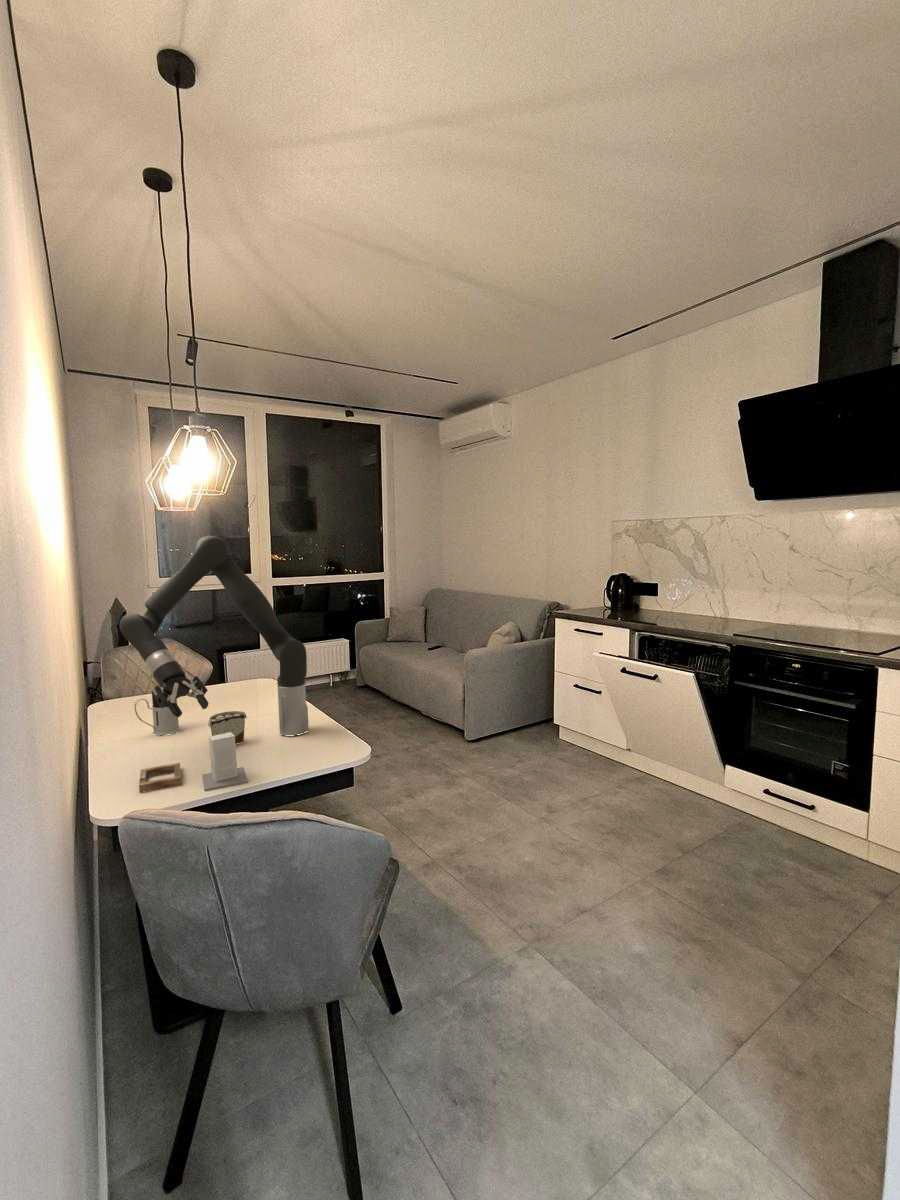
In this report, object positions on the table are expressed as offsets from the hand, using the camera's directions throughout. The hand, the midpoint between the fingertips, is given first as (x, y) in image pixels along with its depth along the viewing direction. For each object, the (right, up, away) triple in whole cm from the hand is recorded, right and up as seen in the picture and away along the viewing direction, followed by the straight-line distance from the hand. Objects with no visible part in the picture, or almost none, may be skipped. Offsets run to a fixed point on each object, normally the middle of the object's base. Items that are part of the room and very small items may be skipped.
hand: (193, 711), depth 158 cm
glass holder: (-28, -15, +35) cm, 48 cm away
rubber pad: (+10, -18, -3) cm, 21 cm away
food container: (-1, -16, +25) cm, 29 cm away
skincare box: (+10, -18, -3) cm, 21 cm away
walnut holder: (-8, -19, -4) cm, 20 cm away
